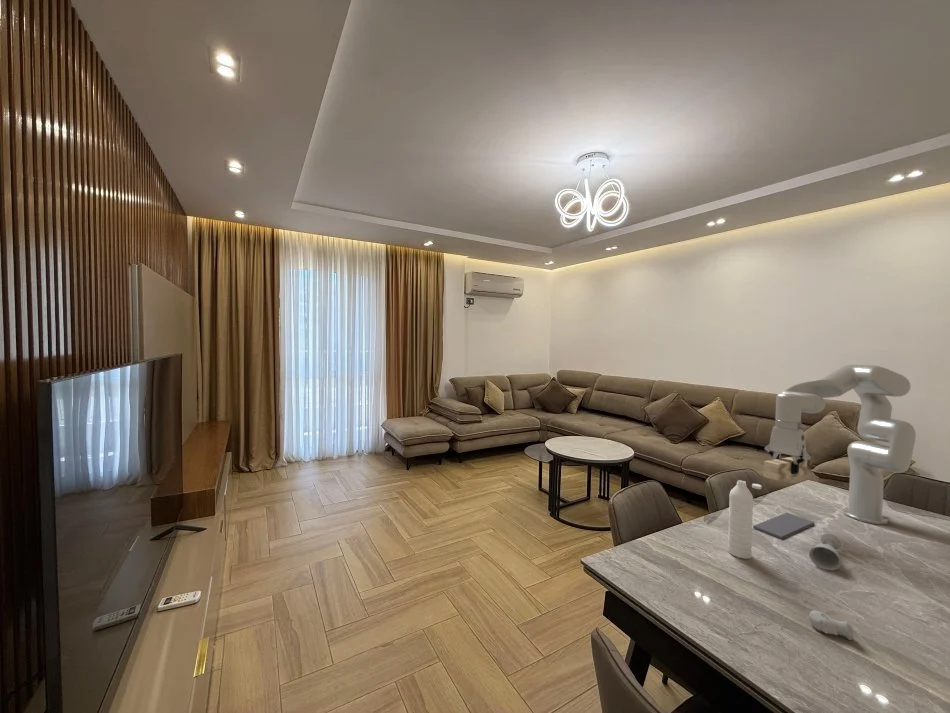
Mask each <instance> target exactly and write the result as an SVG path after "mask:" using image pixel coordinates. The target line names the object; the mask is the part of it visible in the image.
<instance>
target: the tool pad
mask: <svg viewBox="0 0 950 713" xmlns="http://www.w3.org/2000/svg"><path fill="white" fill-rule="evenodd" d="M814 525H815V521H813V520H811V519H807V518H804V517H802V516H798V515H795V514H792V513H790V512H785V513H783V514H780V515H777V516H774V517H772V518H769V519H767V520H765V521H762V522H759V523H757V524H755V525H752V529H753V528H754V530H756V531H758V530H759V531H758V532H761V533H764V534H765V535H766V534H767V535H768V536H771V537H774V538H776V539H779V540H783V539H786V538H788V537H790V536H792V535H795V534H797V533H799V532H800V531H801V532H802V531H804V530H806V529H808V528H810V527H812V526H814Z"/></svg>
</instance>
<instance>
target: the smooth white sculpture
mask: <svg viewBox="0 0 950 713" xmlns="http://www.w3.org/2000/svg"><path fill="white" fill-rule="evenodd" d="M808 620H809V623H810V624H811V625H812V626H813V628H815V629H816V630H817V631H818V632H822V633H825V634H826V635H828V634H829V635H834V636H838V634H839V635H842V636H844V637H845V638H846V639H848V640H849V641H850V640H854V638H855V637H854V629H853V625H852V624H851V623H849V622H848V621H847V620H843V621H840V620H837V619H834V618H831V617H830V616H828V615H827V614H825V613H823V612H821V611H818V610H811V611H810V612H809V614H808Z"/></svg>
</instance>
